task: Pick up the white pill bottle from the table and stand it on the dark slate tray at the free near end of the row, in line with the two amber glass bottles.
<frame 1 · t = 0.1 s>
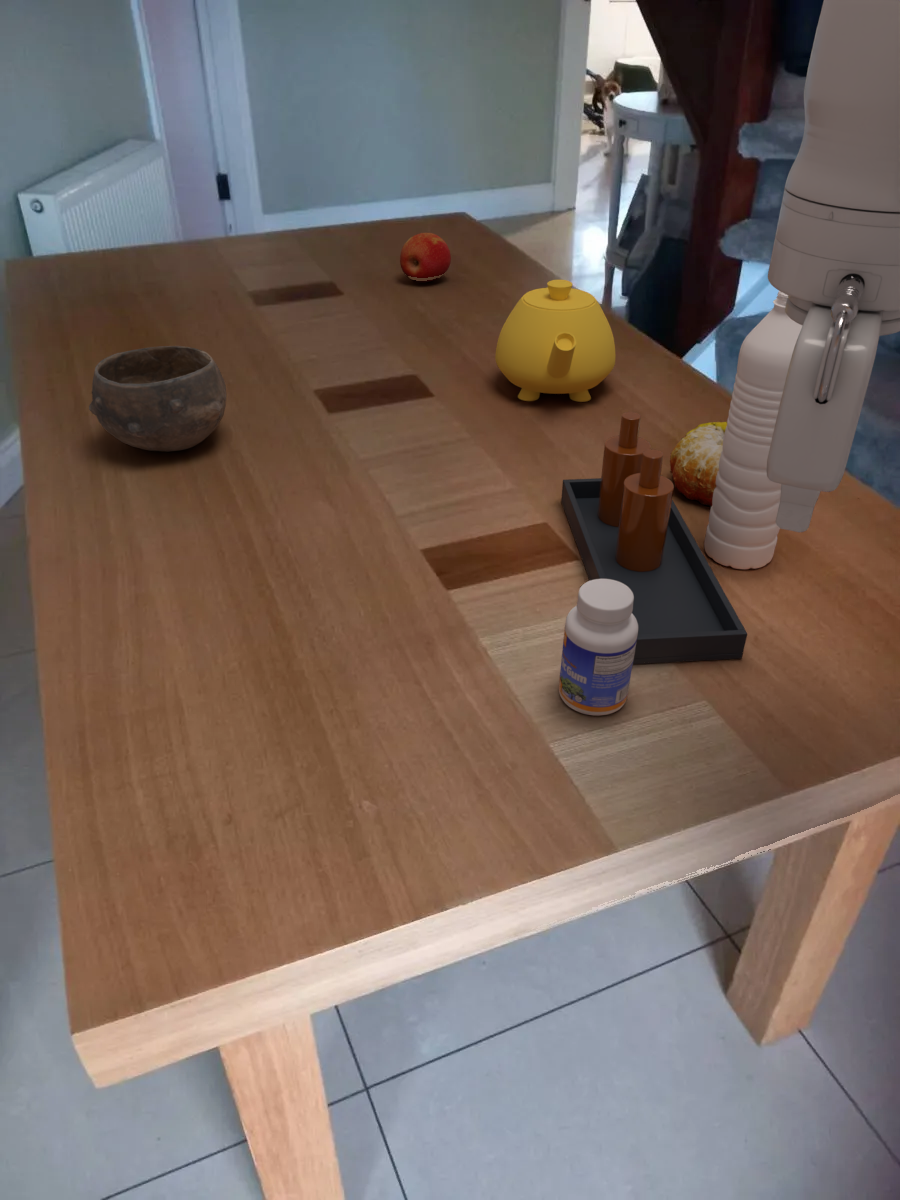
hand: (802, 488, 56), 21 cm above the table, tool pointing down, fingers open, 8 cm apart
apple: (424, 283, 160), on the table
teapot: (553, 394, 120), on the table
amber bottle 2: (638, 559, 87), point 1 cm above the table, touching tray
water bottle: (743, 549, 89), on the table
amber bottle 1: (619, 516, 93), point 1 cm above the table, touching tray
fruit: (715, 490, 99), on the table
bowl: (167, 445, 108), on the table
pill bottle: (592, 696, 72), on the table
tray: (640, 570, 86), on the table
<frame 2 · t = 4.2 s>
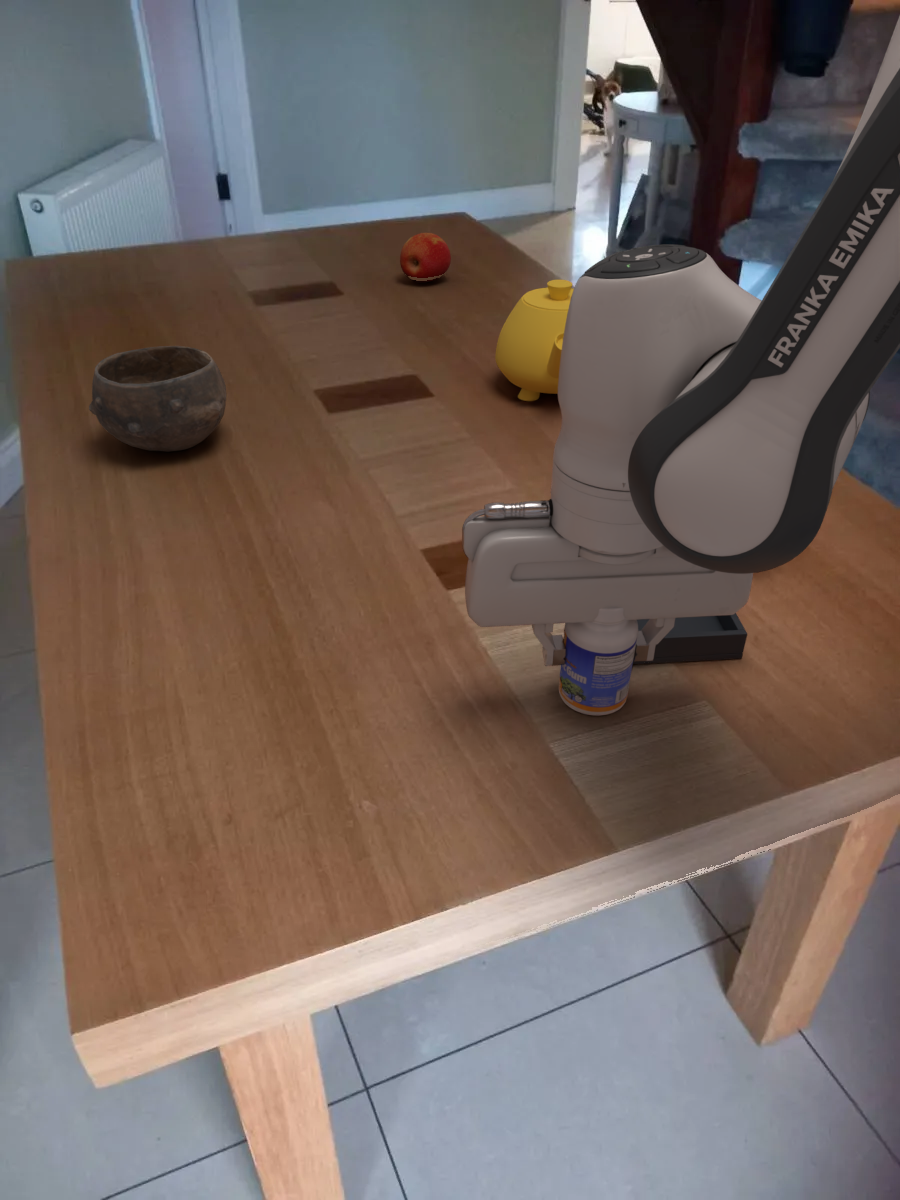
hand: (597, 658, 70), 4 cm above the table, tool pointing down, fingers closed on pill bottle, 5 cm apart
pill bottle: (592, 696, 72), on the table, touching gripper
everything else where it was.
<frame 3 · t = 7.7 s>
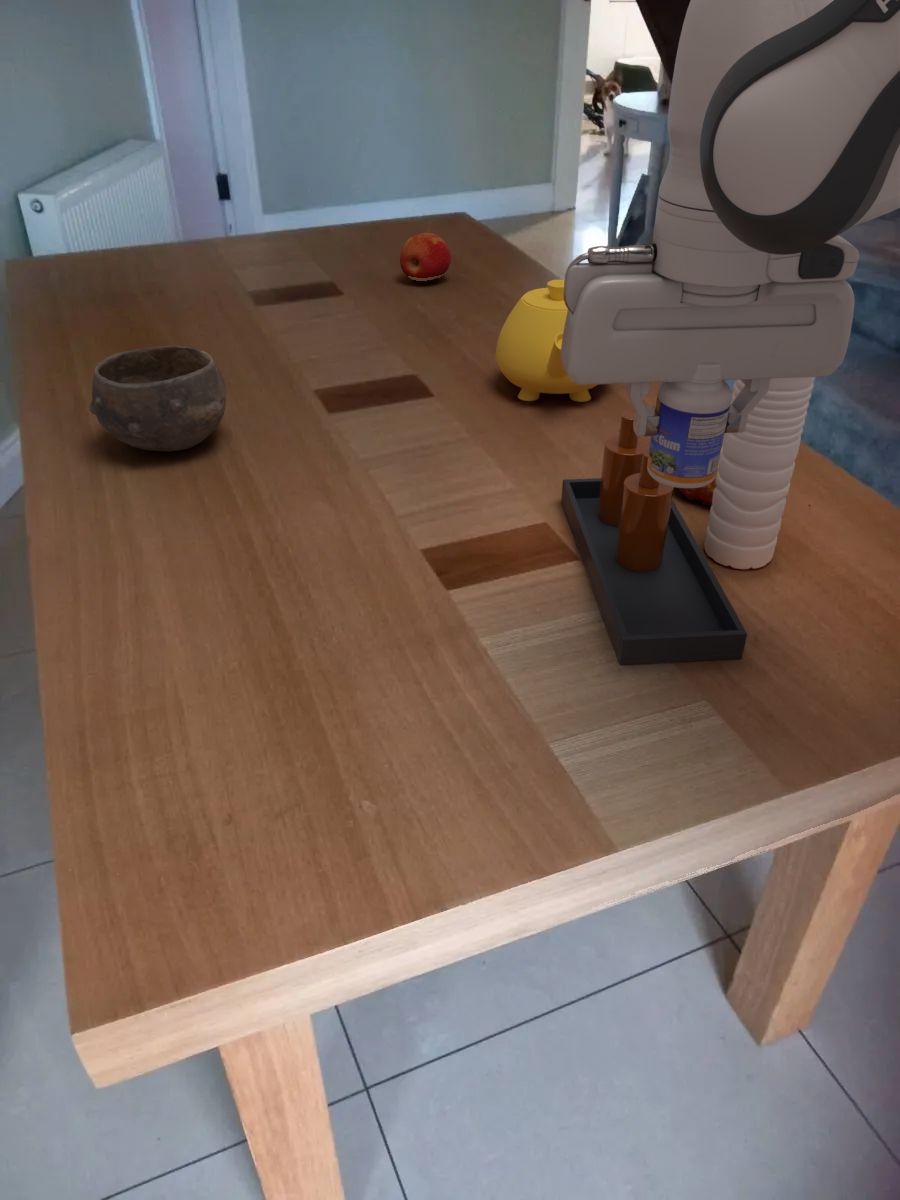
hand: (688, 431, 70), 18 cm above the table, tool pointing down, fingers closed on pill bottle, 5 cm apart
pill bottle: (680, 476, 72), point 14 cm above the table, touching gripper
everything else where it was.
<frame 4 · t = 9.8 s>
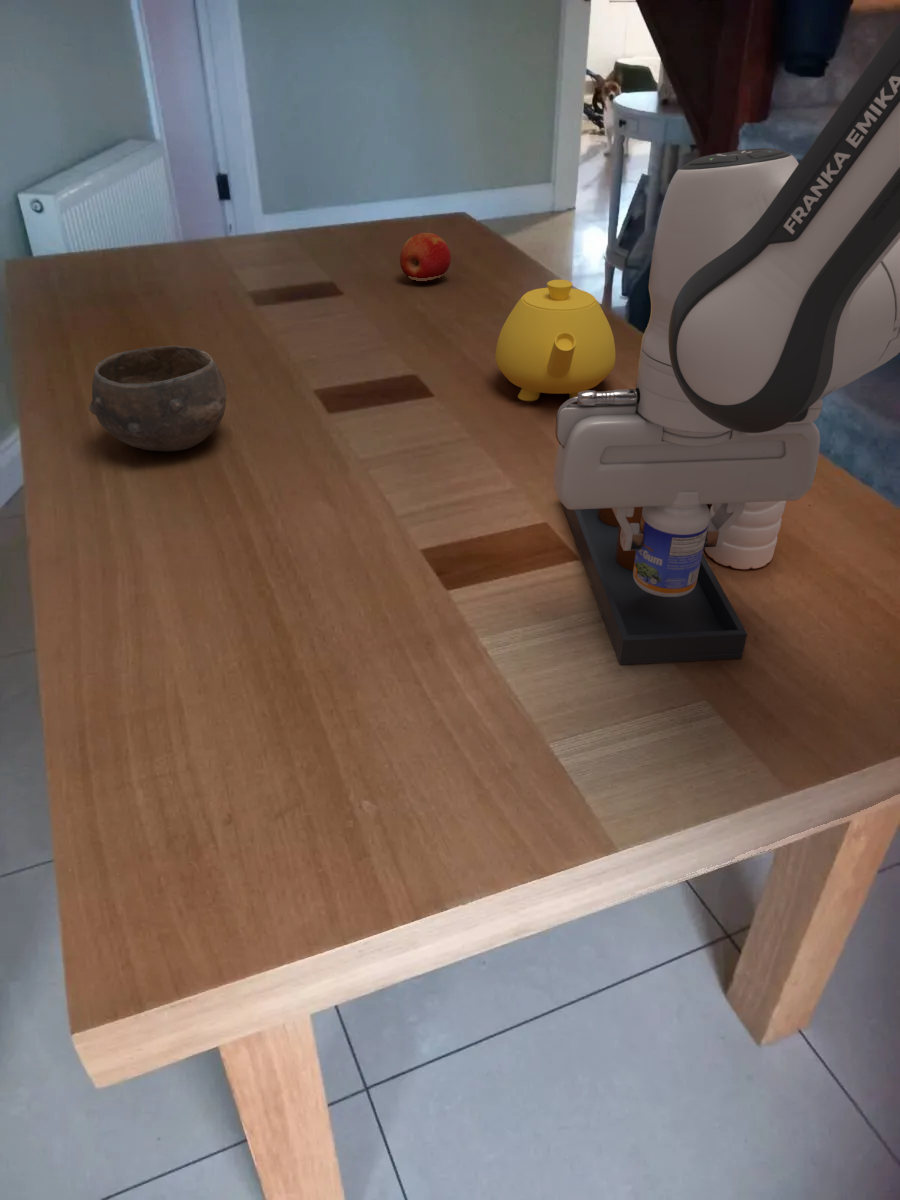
hand: (670, 545, 76), 7 cm above the table, tool pointing down, fingers closed on pill bottle, 5 cm apart
pill bottle: (664, 583, 79), point 3 cm above the table, touching gripper
everything else where it was.
when the fingers open (4 cm above the table, at t = 11.1 s): pill bottle stays where it is, resting on tray.
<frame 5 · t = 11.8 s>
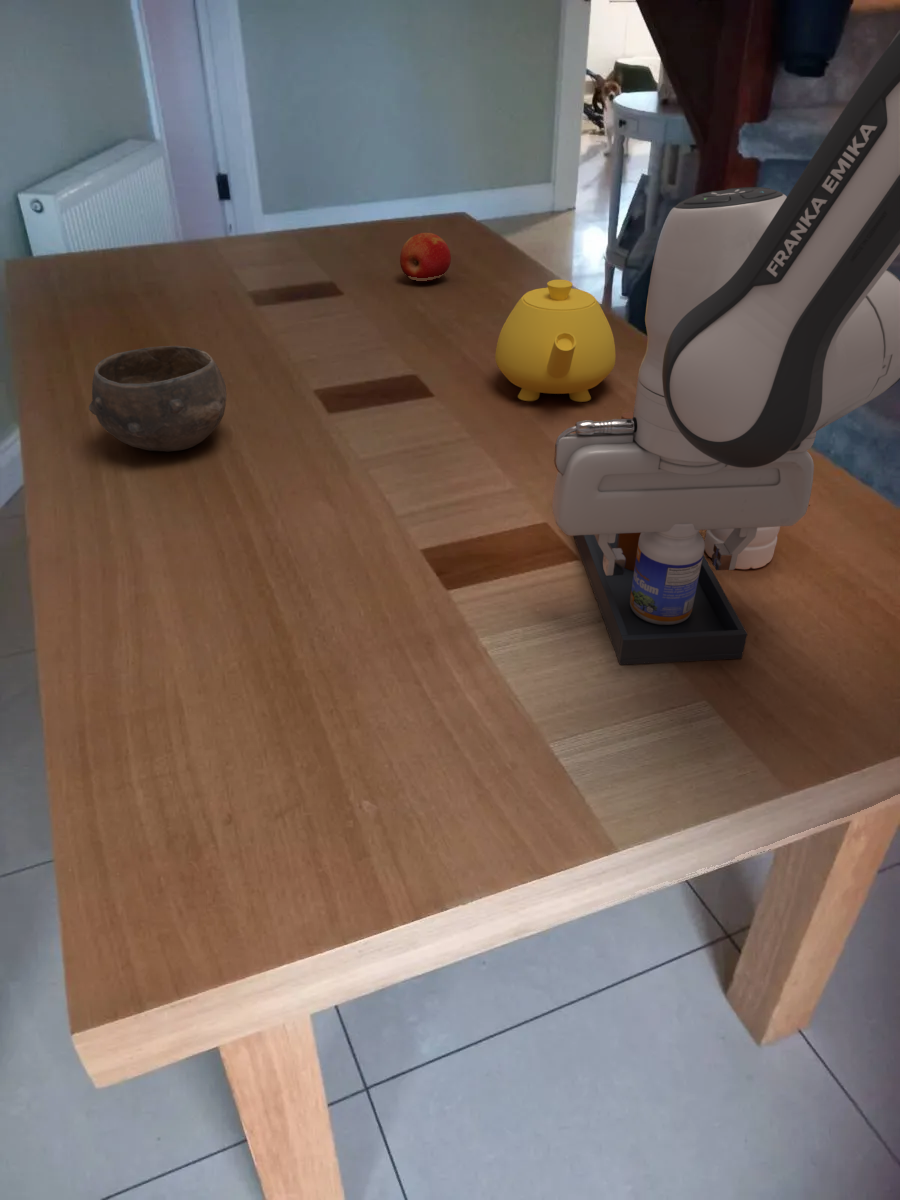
hand: (667, 569, 78), 5 cm above the table, tool pointing down, fingers open, 8 cm apart
pill bottle: (660, 610, 80), resting on tray
everything else where it was.
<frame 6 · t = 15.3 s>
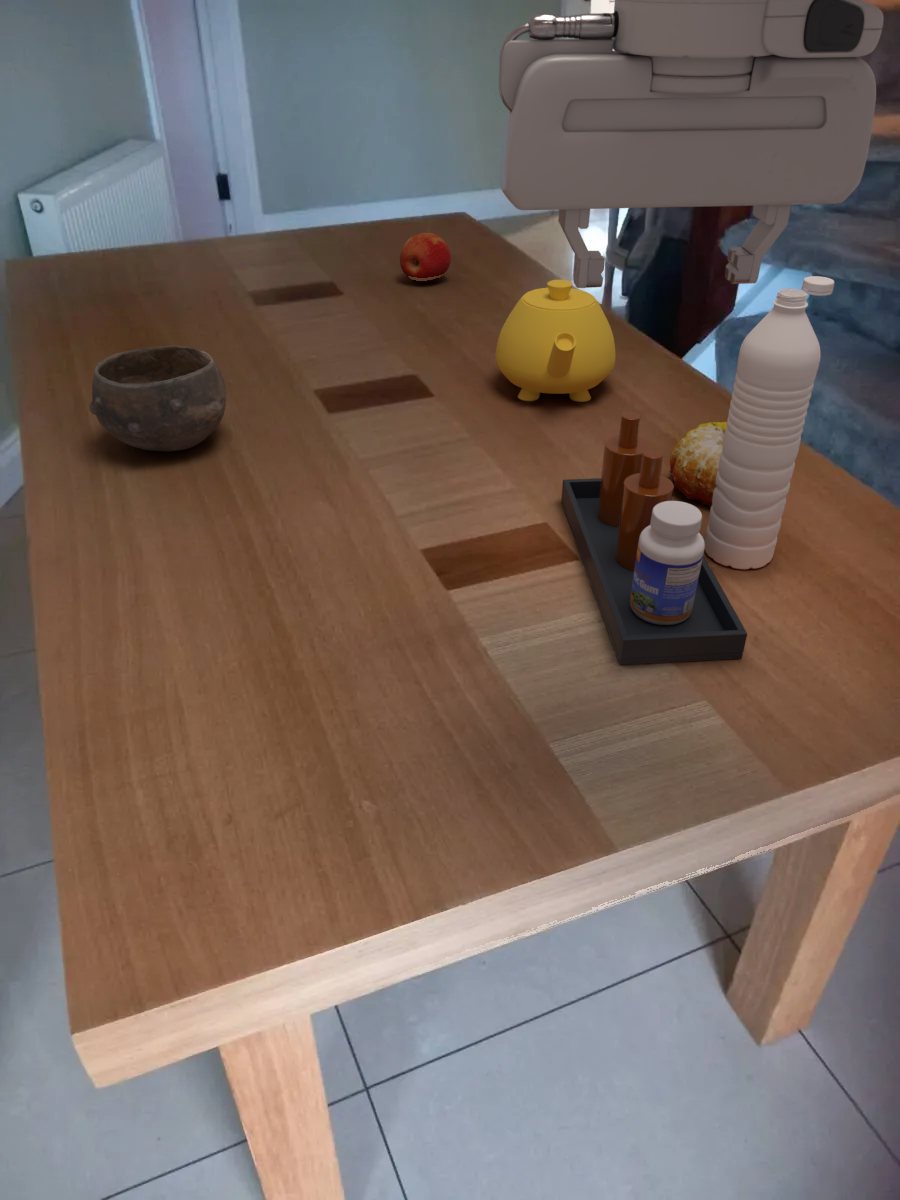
hand: (664, 283, 56), 31 cm above the table, tool pointing down, fingers open, 8 cm apart
nothing on the table moved.
at the end: pill bottle 0.0 cm from the target spot in the tray, point 0.4 cm above the tray's base; pill bottle tilted 0°; amber bottle 1 moved 0.0 cm from its start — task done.
